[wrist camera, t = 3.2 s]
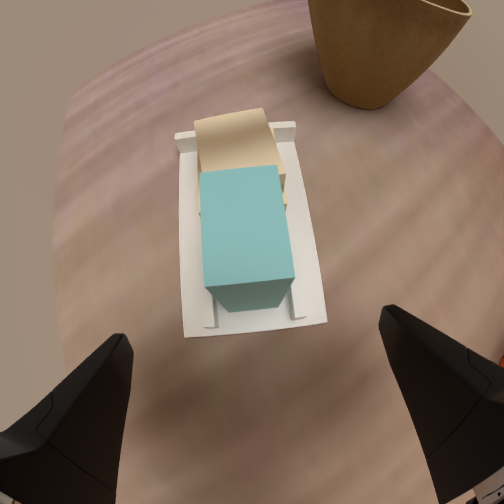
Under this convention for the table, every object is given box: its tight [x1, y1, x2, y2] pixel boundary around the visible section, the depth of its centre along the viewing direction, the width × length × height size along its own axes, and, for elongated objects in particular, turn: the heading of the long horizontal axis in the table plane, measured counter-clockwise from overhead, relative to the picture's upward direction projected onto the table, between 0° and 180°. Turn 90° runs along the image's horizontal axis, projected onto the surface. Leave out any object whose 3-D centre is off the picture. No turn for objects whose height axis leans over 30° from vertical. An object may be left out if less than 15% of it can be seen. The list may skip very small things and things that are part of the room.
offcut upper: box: [194, 108, 286, 193], centre depth 19 cm, size 6×5×2 cm
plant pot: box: [308, 0, 472, 109], centre depth 20 cm, size 15×15×16 cm
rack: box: [175, 121, 327, 338], centre depth 21 cm, size 16×10×3 cm, turn 6°
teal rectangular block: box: [199, 165, 295, 313], centre depth 16 cm, size 5×3×10 cm
